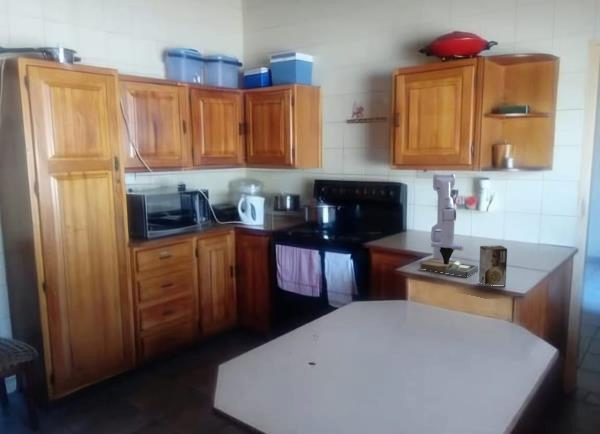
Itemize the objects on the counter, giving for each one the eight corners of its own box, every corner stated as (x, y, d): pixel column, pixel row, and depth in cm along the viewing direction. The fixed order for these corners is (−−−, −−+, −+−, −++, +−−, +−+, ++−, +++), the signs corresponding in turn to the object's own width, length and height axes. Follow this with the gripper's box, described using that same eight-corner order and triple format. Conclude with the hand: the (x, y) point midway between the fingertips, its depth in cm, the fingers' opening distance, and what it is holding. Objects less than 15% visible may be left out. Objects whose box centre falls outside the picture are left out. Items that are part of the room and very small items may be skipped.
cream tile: (470, 266, 220) (470, 270, 220) (460, 264, 223) (460, 268, 223) (466, 268, 217) (466, 272, 217) (456, 266, 219) (456, 270, 220)
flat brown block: (433, 264, 235) (433, 258, 234) (456, 267, 227) (457, 261, 227) (420, 269, 224) (420, 263, 224) (445, 274, 217) (445, 267, 216)
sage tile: (457, 261, 218) (461, 263, 217) (452, 269, 220) (456, 271, 219) (453, 262, 215) (457, 265, 214) (449, 271, 216) (452, 273, 215)
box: (457, 267, 227) (457, 262, 227) (477, 271, 221) (478, 265, 221) (445, 274, 216) (445, 268, 216) (466, 277, 210) (467, 272, 210)
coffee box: (499, 282, 203) (501, 245, 201) (506, 286, 197) (508, 248, 194) (477, 282, 203) (479, 245, 200) (484, 287, 196) (486, 248, 194)
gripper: (428, 234, 219) (427, 263, 221) (459, 238, 210) (458, 268, 212) (435, 232, 224) (434, 260, 226) (465, 235, 215) (464, 265, 217)
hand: (446, 264), depth 219 cm, fingers closed
